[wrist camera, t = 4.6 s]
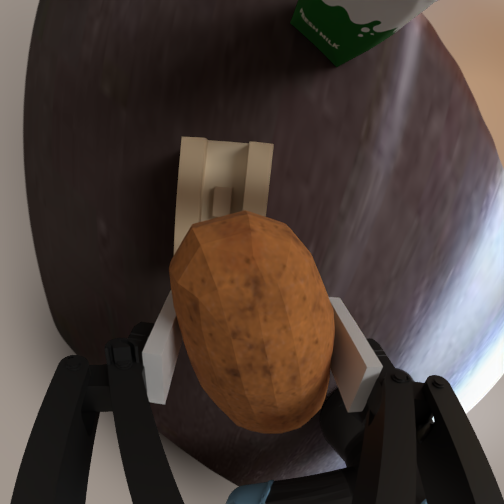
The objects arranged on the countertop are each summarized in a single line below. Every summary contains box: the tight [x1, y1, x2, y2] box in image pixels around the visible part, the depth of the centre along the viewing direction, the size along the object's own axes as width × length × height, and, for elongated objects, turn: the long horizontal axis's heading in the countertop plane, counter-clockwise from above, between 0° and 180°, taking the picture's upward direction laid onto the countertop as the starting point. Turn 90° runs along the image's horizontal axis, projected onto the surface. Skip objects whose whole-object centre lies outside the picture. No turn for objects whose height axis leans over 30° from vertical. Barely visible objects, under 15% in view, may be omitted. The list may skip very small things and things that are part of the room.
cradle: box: [174, 137, 273, 255], centre depth 26 cm, size 10×7×6 cm
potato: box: [169, 210, 335, 434], centre depth 14 cm, size 7×13×7 cm, turn 10°
